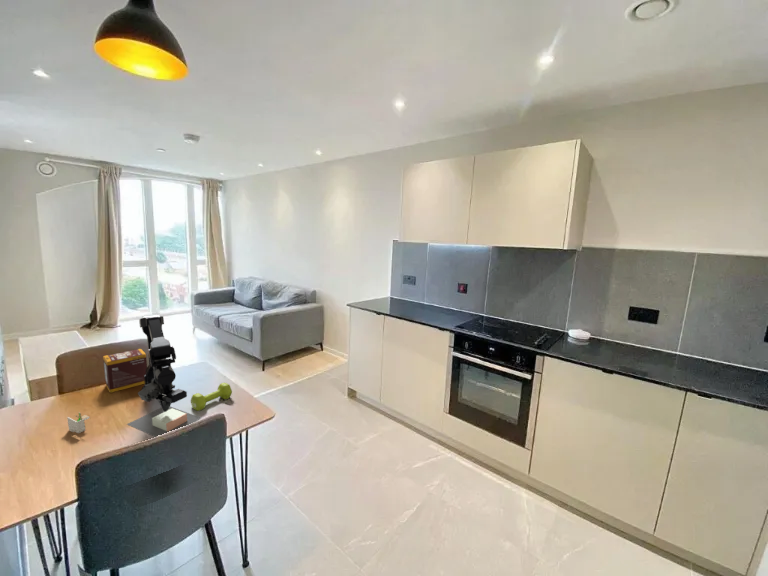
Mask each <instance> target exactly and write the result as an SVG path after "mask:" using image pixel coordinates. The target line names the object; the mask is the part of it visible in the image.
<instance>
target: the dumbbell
mask: <svg viewBox="0 0 768 576" xmlns="http://www.w3.org/2000/svg"><path fill="white" fill-rule="evenodd" d="M232 393H233V390H232V387H231V385H230V384H229V383H227V382H221V383H219V385H218V386H217V390H216V391H212V392H210V393H208V394H206V395H203V394H202V393H199V392H198V393H197V392H196V393H194V394H192V396H191V398H190V405H191V407H192V409H194V410H195V411H197V412H198V411H199V412H200V411H202V410H204V409H205V407H206V405H207V403H209V402H211V401H214V400H216V399H218V398H220V399H221V400H228V399H230V398H231V397H232V395H233V394H232Z"/></svg>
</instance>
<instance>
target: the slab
mask: <svg viewBox="0 0 768 576" xmlns="http://www.w3.org/2000/svg"><path fill="white" fill-rule="evenodd" d="M173 408H174V407H173ZM173 408H172V409H170V410H168V411H166V412H163V413H161V414H159V415H157V416H155V417H153V418H152V423H153V426H155V427H158V428H160V429H163V430H165V431H170V430H172V429H173V428H175V427H177V426H179V425H181V424H182V423H184V422H186V421H187V414H186V413H184V412H185V411H184V412H181V411H182V410H181V411H178V410H175V409H173Z"/></svg>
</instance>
